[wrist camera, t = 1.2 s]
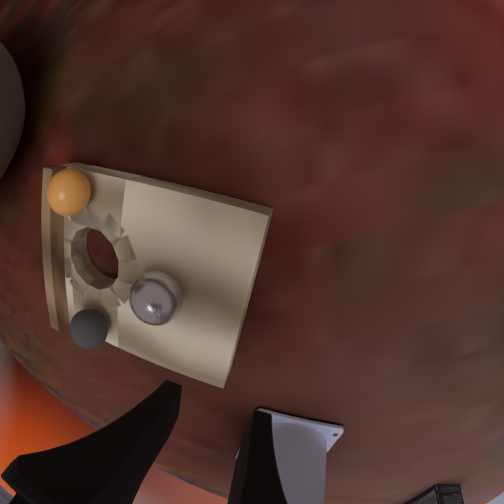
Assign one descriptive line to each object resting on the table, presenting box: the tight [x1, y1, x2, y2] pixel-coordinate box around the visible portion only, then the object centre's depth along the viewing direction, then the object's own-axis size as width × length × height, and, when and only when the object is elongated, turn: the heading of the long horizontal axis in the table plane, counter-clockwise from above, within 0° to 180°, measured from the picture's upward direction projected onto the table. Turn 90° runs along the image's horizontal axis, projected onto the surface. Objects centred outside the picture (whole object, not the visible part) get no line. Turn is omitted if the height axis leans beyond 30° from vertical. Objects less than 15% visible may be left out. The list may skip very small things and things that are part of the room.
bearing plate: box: [41, 162, 273, 388], centre depth 19 cm, size 13×15×4 cm
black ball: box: [70, 309, 108, 349], centre depth 19 cm, size 3×3×3 cm
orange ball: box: [47, 168, 91, 216], centre depth 16 cm, size 3×3×3 cm
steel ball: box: [129, 271, 183, 326], centre depth 17 cm, size 3×3×3 cm
